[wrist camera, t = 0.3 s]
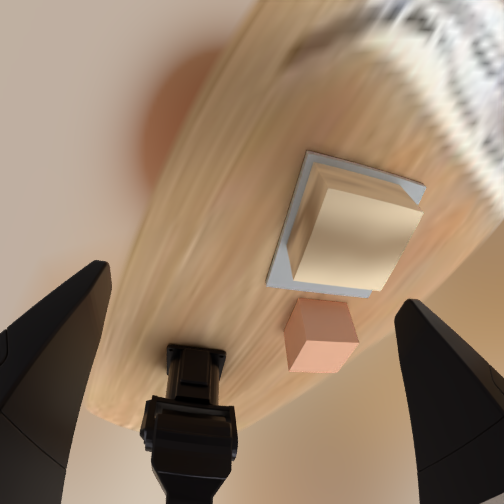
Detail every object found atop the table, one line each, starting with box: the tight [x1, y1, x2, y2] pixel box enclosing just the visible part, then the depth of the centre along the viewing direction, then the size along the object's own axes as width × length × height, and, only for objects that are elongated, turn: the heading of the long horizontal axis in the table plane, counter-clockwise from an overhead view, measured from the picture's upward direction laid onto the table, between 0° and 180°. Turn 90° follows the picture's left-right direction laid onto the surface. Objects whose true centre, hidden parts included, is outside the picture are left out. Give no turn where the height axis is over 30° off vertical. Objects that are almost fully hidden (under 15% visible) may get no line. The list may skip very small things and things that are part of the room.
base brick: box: [286, 162, 424, 291], centre depth 21 cm, size 7×7×4 cm
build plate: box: [266, 151, 426, 298], centre depth 24 cm, size 12×10×1 cm
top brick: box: [284, 298, 359, 373], centre depth 29 cm, size 5×5×5 cm
